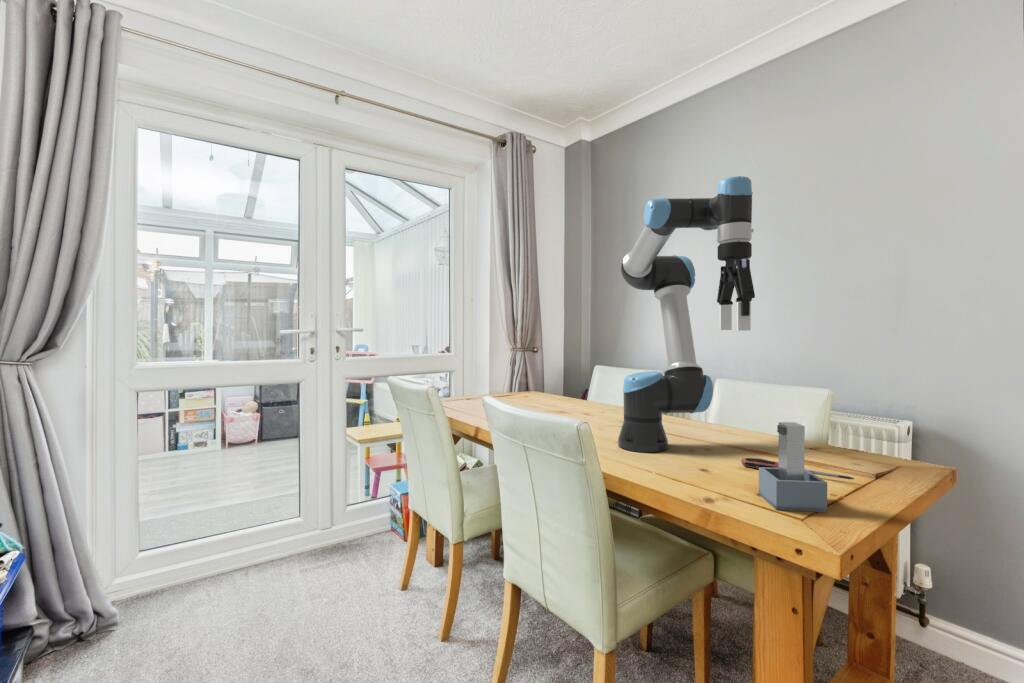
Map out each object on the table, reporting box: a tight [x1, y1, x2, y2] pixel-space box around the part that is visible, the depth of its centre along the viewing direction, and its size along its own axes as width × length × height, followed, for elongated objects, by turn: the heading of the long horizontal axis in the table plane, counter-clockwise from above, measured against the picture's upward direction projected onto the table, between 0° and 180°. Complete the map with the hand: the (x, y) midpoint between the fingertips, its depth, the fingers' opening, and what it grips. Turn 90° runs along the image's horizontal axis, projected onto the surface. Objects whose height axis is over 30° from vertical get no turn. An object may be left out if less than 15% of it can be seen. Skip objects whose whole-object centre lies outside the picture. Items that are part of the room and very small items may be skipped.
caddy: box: [758, 467, 828, 513], centre depth 101 cm, size 10×10×6 cm
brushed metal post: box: [776, 421, 806, 481], centre depth 101 cm, size 4×4×16 cm
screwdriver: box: [740, 457, 855, 480], centre depth 120 cm, size 25×3×3 cm, turn 51°
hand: (734, 330), depth 116 cm, fingers open, 13 cm apart
